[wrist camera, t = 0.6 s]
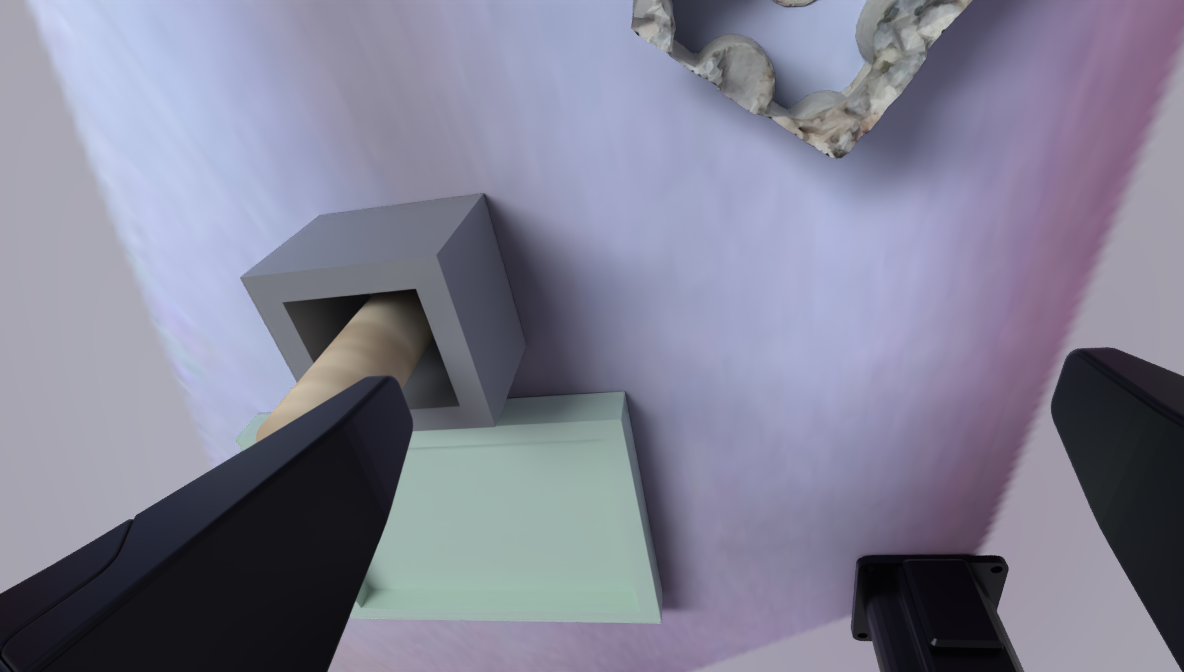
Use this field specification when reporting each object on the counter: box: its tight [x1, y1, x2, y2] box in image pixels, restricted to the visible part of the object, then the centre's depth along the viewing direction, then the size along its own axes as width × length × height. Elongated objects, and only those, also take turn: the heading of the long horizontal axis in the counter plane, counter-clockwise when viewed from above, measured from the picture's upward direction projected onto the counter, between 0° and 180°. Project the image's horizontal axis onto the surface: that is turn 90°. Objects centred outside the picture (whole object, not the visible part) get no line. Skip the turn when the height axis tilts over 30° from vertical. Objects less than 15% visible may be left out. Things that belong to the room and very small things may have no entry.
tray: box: [235, 391, 663, 623], centre depth 31 cm, size 14×18×2 cm
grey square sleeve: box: [240, 193, 527, 431], centre depth 22 cm, size 7×7×5 cm
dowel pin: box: [256, 289, 434, 443], centre depth 20 cm, size 3×3×9 cm
